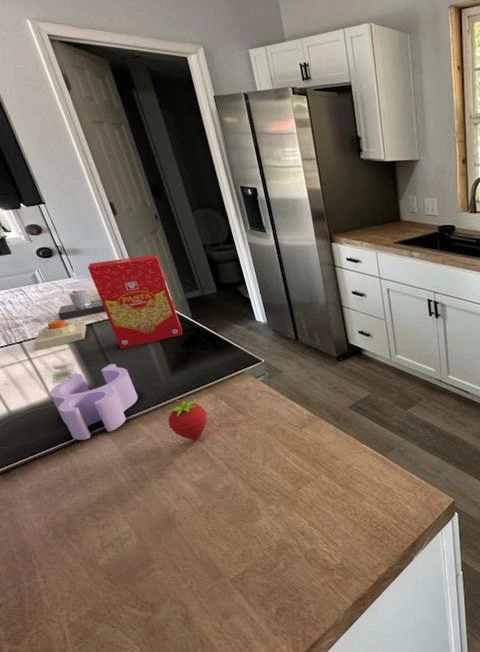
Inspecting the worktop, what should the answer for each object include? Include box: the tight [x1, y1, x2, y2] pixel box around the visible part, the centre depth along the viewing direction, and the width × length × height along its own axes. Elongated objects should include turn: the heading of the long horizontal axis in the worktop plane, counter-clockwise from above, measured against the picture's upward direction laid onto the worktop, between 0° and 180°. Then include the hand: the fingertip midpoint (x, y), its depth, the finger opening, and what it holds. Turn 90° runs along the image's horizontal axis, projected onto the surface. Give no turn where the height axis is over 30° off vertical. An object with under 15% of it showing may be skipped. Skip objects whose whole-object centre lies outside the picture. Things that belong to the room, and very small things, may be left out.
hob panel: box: [57, 299, 106, 321], centre depth 148 cm, size 12×9×3 cm
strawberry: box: [164, 399, 207, 442], centre depth 81 cm, size 6×8×10 cm
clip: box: [49, 363, 138, 441], centre depth 91 cm, size 20×12×7 cm, turn 41°
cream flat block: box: [34, 321, 87, 350], centre depth 128 cm, size 12×10×4 cm
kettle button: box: [47, 319, 66, 329], centre depth 127 cm, size 4×4×2 cm
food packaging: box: [87, 254, 183, 349], centre depth 123 cm, size 15×5×25 cm, turn 129°
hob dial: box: [68, 290, 91, 308], centre depth 147 cm, size 4×4×5 cm
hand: (3, 254), depth 134 cm, fingers closed
